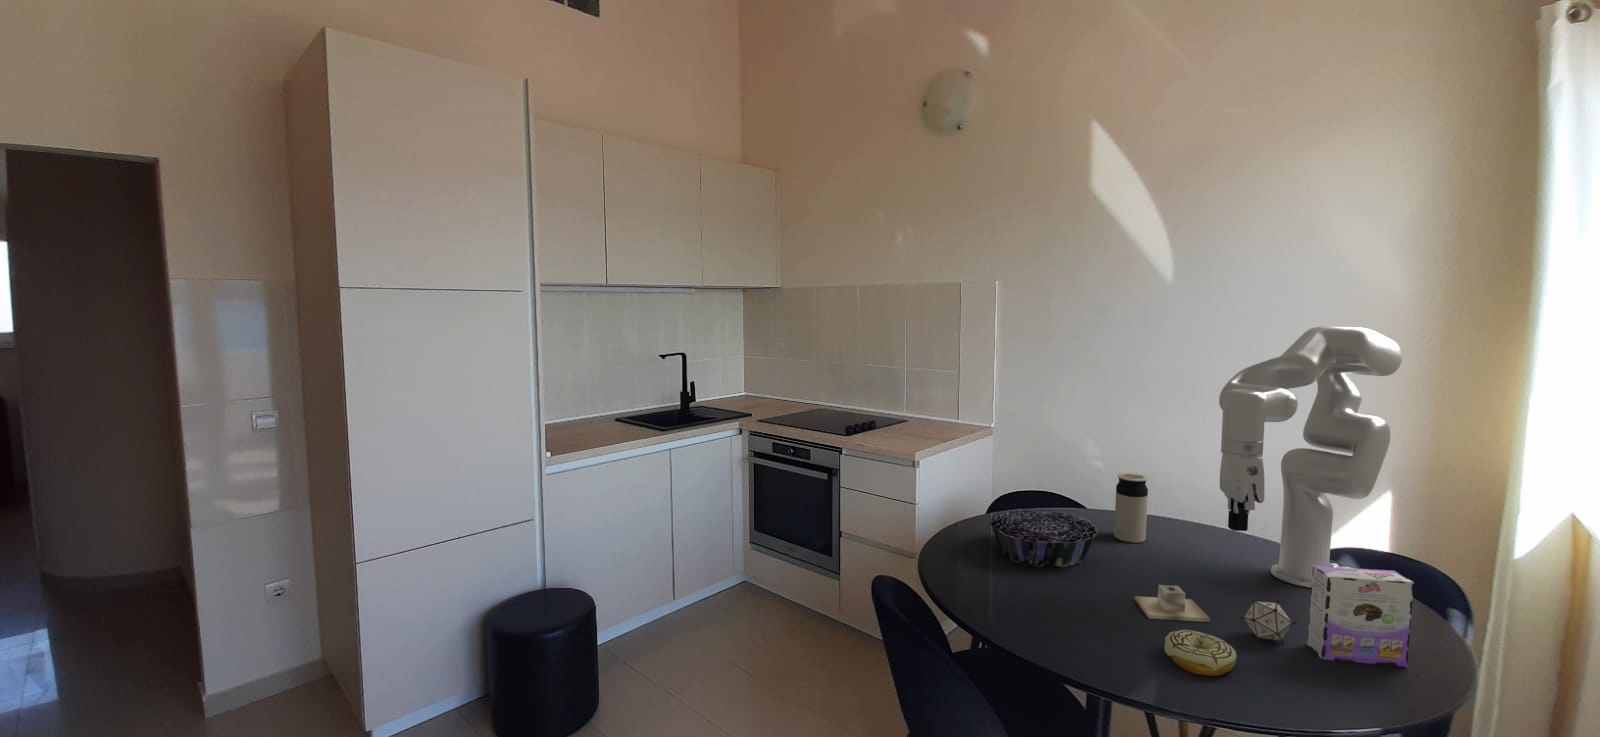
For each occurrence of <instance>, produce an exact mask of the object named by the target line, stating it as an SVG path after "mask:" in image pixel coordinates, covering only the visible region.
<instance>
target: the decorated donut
mask: <svg viewBox="0 0 1600 737" xmlns="http://www.w3.org/2000/svg"><path fill="white" fill-rule="evenodd" d="M1164 642H1165V643H1164V647H1163V648H1164V652H1165V654H1166V655H1167V656H1168V657H1169V658H1170V659H1171V660H1172V661H1173V662H1174V664H1175V665H1177V666H1178V667H1180V668H1181V669H1183V670H1185V671H1187V672H1189V673H1192V674H1194V675H1200V676H1209V677H1215V676H1219V677H1220V676H1222V675H1225V674H1226V673H1228V672H1231V671H1232V670H1233V669H1234V667H1235V664H1236V662H1237V651H1236V650H1235V649H1234V647H1233V646H1231V645H1230V644H1229V643H1227V641H1225V640H1223V639H1221V638H1218V637H1217V636H1215V635H1212V634H1207V633H1204V632H1202V631H1201V632H1200V631H1196V630H1190V629H1180V630H1173V631H1170V632H1169V633H1168V634H1167V636H1165V638H1164Z"/></svg>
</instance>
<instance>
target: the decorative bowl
mask: <svg viewBox="0 0 1600 737" xmlns="http://www.w3.org/2000/svg"><path fill="white" fill-rule="evenodd" d="M989 525H990V526H991V528H992V530H993V534H994V536H995V541H996V543H997V545H998V547H999V552H1001V553H1002V554H1003V553H1004V554H1003V555H1004V556H1005V557H1006V556H1007V557H1006V558H1008V559H1010V560H1011V561H1012V562H1014V561H1015V562H1014V563H1017V564H1020V565H1023V566H1025V567H1037V568H1042V567H1045V568H1053V567H1056V568H1067V567H1072V566H1075V565H1080V564H1081V563H1082V562H1083V561H1084V560H1085V559H1086V558H1087V556H1088V554H1089V552H1090V550H1091V547H1092V545H1093V543H1094V541H1095V538H1096V537H1097V535H1098V534H1099V531H1098V527H1097V526H1096V525H1095V524H1094V522H1092V521H1090V520H1088V519H1086V518H1084V517H1080V516H1077V515H1074V514H1069V513H1064V512H1063V513H1062V512H1054V511H1048V510H1047V511H1045V510H1044V511H1043V510H1029V509H1012V510H1007V511H1004V512H999V513H995V514H993V516H992V517H991V518H990V522H989Z"/></svg>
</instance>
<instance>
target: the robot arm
mask: <svg viewBox="0 0 1600 737" xmlns="http://www.w3.org/2000/svg"><path fill="white" fill-rule="evenodd" d="M1402 360H1403V354H1402V349H1401V348H1400V346H1399V344H1398V343H1397V342H1396V341H1395V340H1393V339H1392V338H1389V337H1387V336H1386V335H1383V334H1382V333H1379V332H1377V331H1375V330H1373V329H1370V328H1366V327H1359V326H1358V327H1355V326H1315V327H1312V328H1310V329H1308V330H1306V331H1305V332H1304V333H1303V334H1302V335H1300V336H1299V337H1298V338H1297V339H1296V340H1295V341H1294V343H1293V344H1291V345H1290V346H1289V347H1288V348H1287V349H1286V350H1285V351H1284V352H1283V353H1282V354H1281V355H1279V356H1276V357H1274V358H1270V359H1267V360H1263V361H1261V362H1258V363H1255V364H1253V365H1250V366H1247V367H1245V368H1243V369H1241V370H1239V371H1238V372H1237V373H1236V374H1234V376H1232V377H1231V378H1230V379H1229V380H1228V382H1227V383H1226V384H1224V386H1223V388H1222V390H1221V391H1220V392H1219V398H1218V404H1219V408H1220V409H1221V410H1222V417H1221V418H1222V419H1221V420H1222V421H1221V422H1222V423H1221V443H1220V454H1222V456H1221V461H1220V470H1219V471H1220V472H1219V489H1220V491H1221V492H1222V493H1224V496H1225V498H1227V509H1228V519H1227V527H1228V529H1230V530H1232V531H1235V532H1237V531H1238V532H1247V531H1248V528H1249V515H1250V512H1251V511H1255V510H1256V503H1258V504H1261V503H1262V504H1263V503H1264V502H1265V468H1264V460H1263V456H1264V454H1263V453H1264V439H1265V423H1266V422H1267V423H1282V422H1285V421H1288V420H1289V419H1291V418H1293V416H1294V415H1296V412H1297V410H1298V406H1299V405H1298V404H1299V402H1298V398H1297V397H1296V395H1295V393H1293V392H1292V391H1290V390H1291V389H1297V388H1302V387H1306V386H1308V385H1309V386H1310V385H1312V384H1313V383H1314V382H1316V383H1317V384H1316V385H1317V392H1316V396H1315V399H1314V401H1313V403H1312V406H1311V409H1310V411H1309V413H1308V415H1307V419H1306V420H1305V421H1306V422H1305V423H1304V427H1303V431H1302V438H1303V439H1304V441H1305V442H1306V443H1307V444H1308V445H1311V446H1312V447H1315V448H1319V449H1323V450H1319V449H1313V448H1302V447H1301V448H1300V447H1298V448H1293V449H1290V450H1288V451H1286V453H1284V455H1283V456H1282V458H1281V462H1280V472H1281V478H1282V486H1283V505H1282V507H1283V508H1282V516H1281V517H1282V519H1281V529H1280V530H1281V533H1280V544H1279V545H1280V546H1279V549H1280V550H1279V560H1278V563H1276V564H1272V566H1270V574H1272V576H1274V577H1275V578H1277V579H1279V580H1281V581H1283V582H1286V583H1289V584H1292V585H1294V586H1300V587H1303V588H1308V589H1309V588H1310V589H1311V587H1312V574H1313V565H1314V566H1328V567H1343V568H1351V566H1339V564H1338V563H1331V562H1330V556H1331V544H1332V543H1331V542H1332V530H1333V521H1334V520H1333V518H1334V510H1333V506H1332V504H1331V502H1330V500H1329V499H1328V497H1327V495H1326V494H1328V495H1333V496H1338V497H1341V498H1342V497H1343V498H1347V499H1353V500H1362V499H1365V498H1367V497H1368V496H1369V495H1370V494H1371V493H1372V491H1373V489H1374V487H1375V485H1376V483H1377V480H1378V476H1379V474H1380V471H1381V470H1382V469H1381V468H1382V467H1383V464H1384V461H1385V458H1386V456H1387V453H1388V449H1389V446H1390V442H1391V428H1390V425H1389V423H1387V421H1386V420H1385V419H1383V418H1382V417H1380V416H1377V415H1371V414H1365V413H1358V412H1359V408H1360V405H1361V403H1362V398H1363V397H1362V393H1361V392H1360V390H1359V388H1358V387H1357V385H1356V384H1355V383H1354V381H1352V380H1351V378H1350V376H1348V374H1351V375H1363V376H1375V377H1387V376H1390V375H1393V374H1395V373H1396V372H1397V371H1398V370H1399V368H1400V366H1401V364H1402V363H1403V362H1402ZM1289 389H1290V390H1289ZM1325 450H1327V451H1325ZM1331 451H1335V452H1336V453H1335V452H1331ZM1337 452H1340V453H1337ZM1342 453H1344V454H1342ZM1345 453H1346V454H1347V455H1346V454H1345ZM1348 454H1352V455H1348ZM1255 502H1256V503H1255Z"/></svg>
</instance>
